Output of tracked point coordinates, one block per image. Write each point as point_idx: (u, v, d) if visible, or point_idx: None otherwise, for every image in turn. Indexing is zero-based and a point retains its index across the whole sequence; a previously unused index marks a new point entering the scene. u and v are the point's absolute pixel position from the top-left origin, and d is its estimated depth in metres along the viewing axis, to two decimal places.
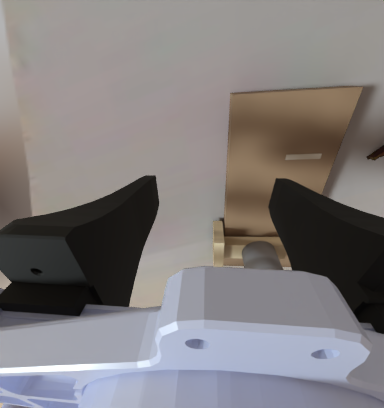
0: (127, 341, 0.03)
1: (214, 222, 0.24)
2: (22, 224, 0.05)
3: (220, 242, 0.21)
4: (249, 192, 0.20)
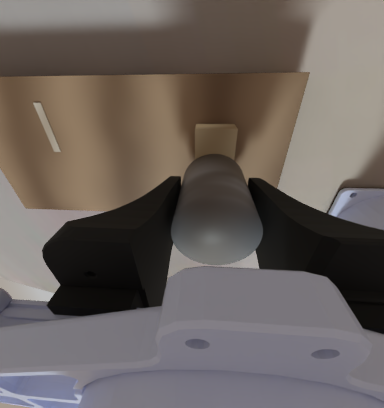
0: (127, 341, 0.03)
1: None
2: (80, 226, 0.05)
3: None
4: (118, 188, 0.15)
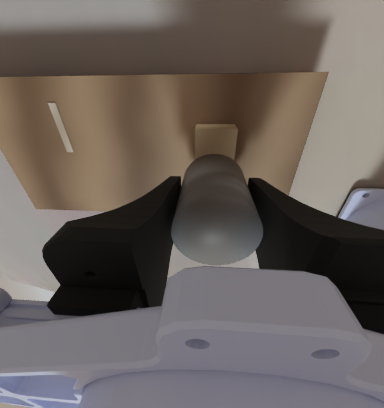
0: (127, 341, 0.03)
1: None
2: (80, 226, 0.05)
3: None
4: (130, 188, 0.15)
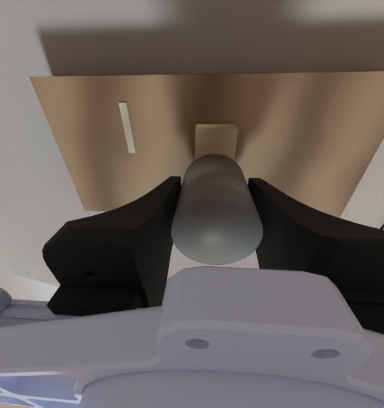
0: (127, 341, 0.03)
1: None
2: (80, 226, 0.05)
3: None
4: None
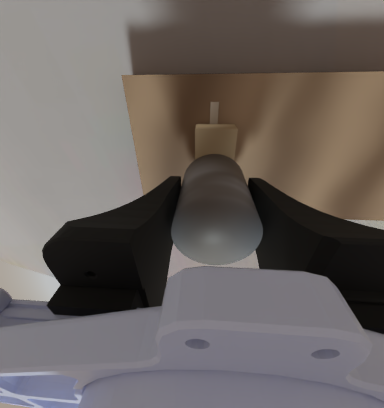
0: (127, 341, 0.03)
1: None
2: (80, 226, 0.05)
3: None
4: None
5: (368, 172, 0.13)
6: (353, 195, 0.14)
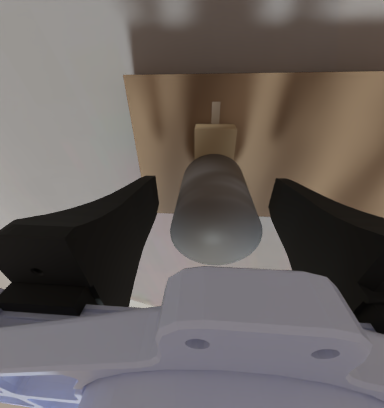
0: (127, 341, 0.03)
1: None
2: (22, 224, 0.05)
3: None
4: (262, 191, 0.14)
5: (370, 172, 0.13)
6: (354, 195, 0.14)
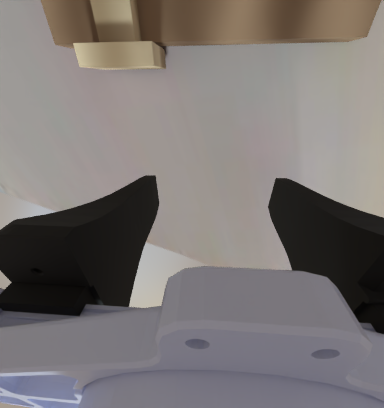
0: (127, 341, 0.03)
1: None
2: (22, 224, 0.05)
3: (77, 52, 0.12)
4: None
5: None
6: None
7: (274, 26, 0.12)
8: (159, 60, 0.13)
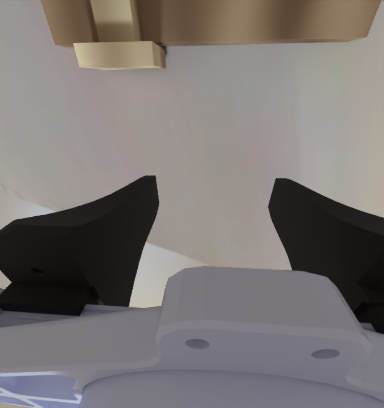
0: (127, 341, 0.03)
1: None
2: (22, 224, 0.05)
3: (77, 52, 0.12)
4: None
5: None
6: None
7: (274, 26, 0.12)
8: (159, 60, 0.13)
